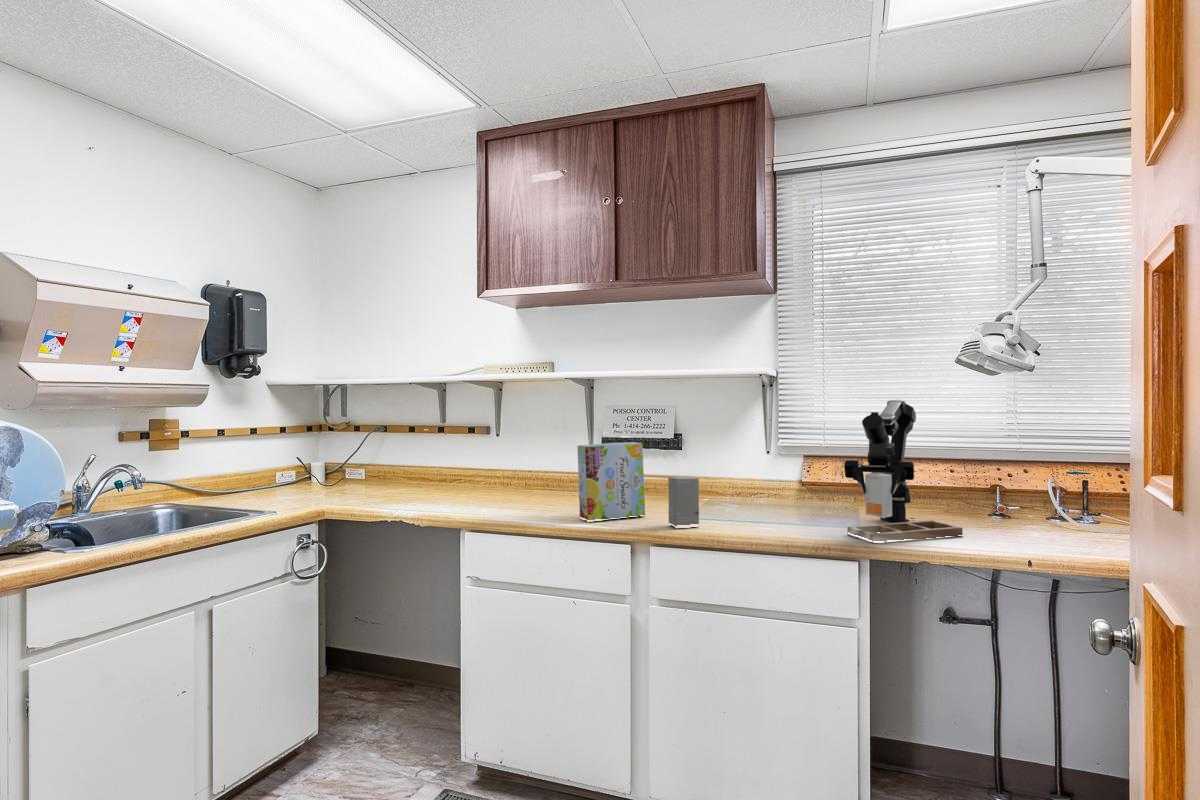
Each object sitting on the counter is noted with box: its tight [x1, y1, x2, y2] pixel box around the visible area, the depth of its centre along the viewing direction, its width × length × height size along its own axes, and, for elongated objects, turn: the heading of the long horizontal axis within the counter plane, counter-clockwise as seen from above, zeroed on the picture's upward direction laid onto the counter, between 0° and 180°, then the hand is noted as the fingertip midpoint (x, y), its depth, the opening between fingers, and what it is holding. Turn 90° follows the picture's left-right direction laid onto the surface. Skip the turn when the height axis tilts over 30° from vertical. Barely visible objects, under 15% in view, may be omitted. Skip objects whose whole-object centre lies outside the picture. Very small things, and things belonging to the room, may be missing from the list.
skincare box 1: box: [667, 476, 700, 526], centre depth 211 cm, size 8×7×16 cm
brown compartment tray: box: [846, 519, 964, 541], centre depth 193 cm, size 12×30×2 cm, turn 104°
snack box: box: [576, 441, 646, 520], centre depth 227 cm, size 22×9×26 cm, turn 113°
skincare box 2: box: [864, 472, 892, 518], centre depth 190 cm, size 6×4×12 cm
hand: (878, 493), depth 189 cm, fingers closed on skincare box 2, 7 cm apart
